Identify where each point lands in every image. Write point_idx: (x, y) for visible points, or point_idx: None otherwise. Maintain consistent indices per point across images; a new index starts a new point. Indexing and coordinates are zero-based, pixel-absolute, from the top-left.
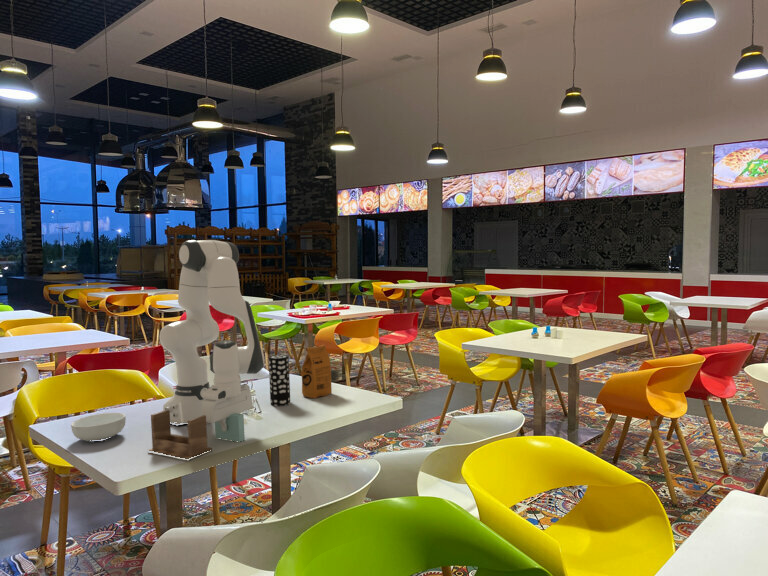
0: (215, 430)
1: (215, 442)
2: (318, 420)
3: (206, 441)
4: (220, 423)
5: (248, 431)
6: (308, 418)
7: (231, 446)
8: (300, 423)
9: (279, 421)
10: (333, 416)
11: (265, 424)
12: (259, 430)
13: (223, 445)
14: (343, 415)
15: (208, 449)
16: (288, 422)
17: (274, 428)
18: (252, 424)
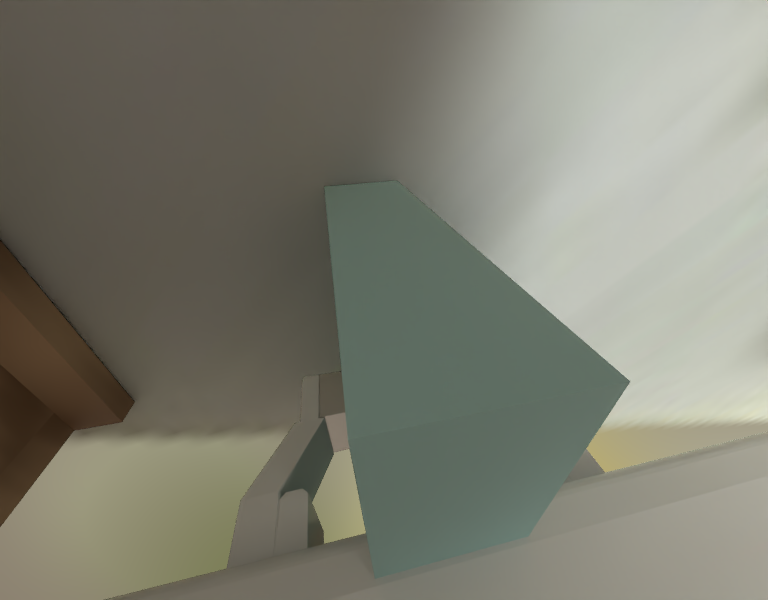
0: (328, 215)
1: (254, 280)
2: (714, 403)
3: (5, 508)
4: (271, 468)
5: (558, 283)
6: (759, 361)
7: (282, 412)
8: (685, 384)
9: (752, 289)
10: (755, 405)
11: (707, 263)
12: (582, 322)
13: (258, 372)
14: (756, 418)
15: (83, 428)
16: (716, 338)
17: (617, 356)
18: (733, 173)
